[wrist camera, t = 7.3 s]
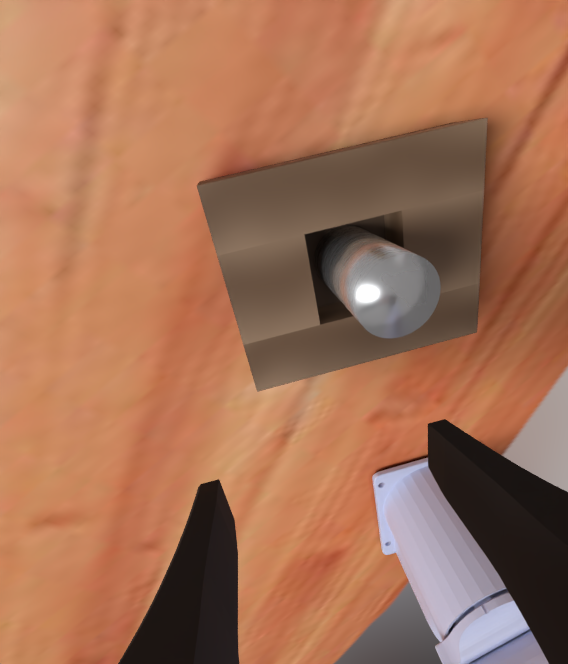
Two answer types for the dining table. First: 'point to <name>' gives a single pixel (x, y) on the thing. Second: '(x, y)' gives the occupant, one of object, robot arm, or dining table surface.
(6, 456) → the dining table surface
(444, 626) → the robot arm
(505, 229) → the dining table surface
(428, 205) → the bore block
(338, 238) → the pin
